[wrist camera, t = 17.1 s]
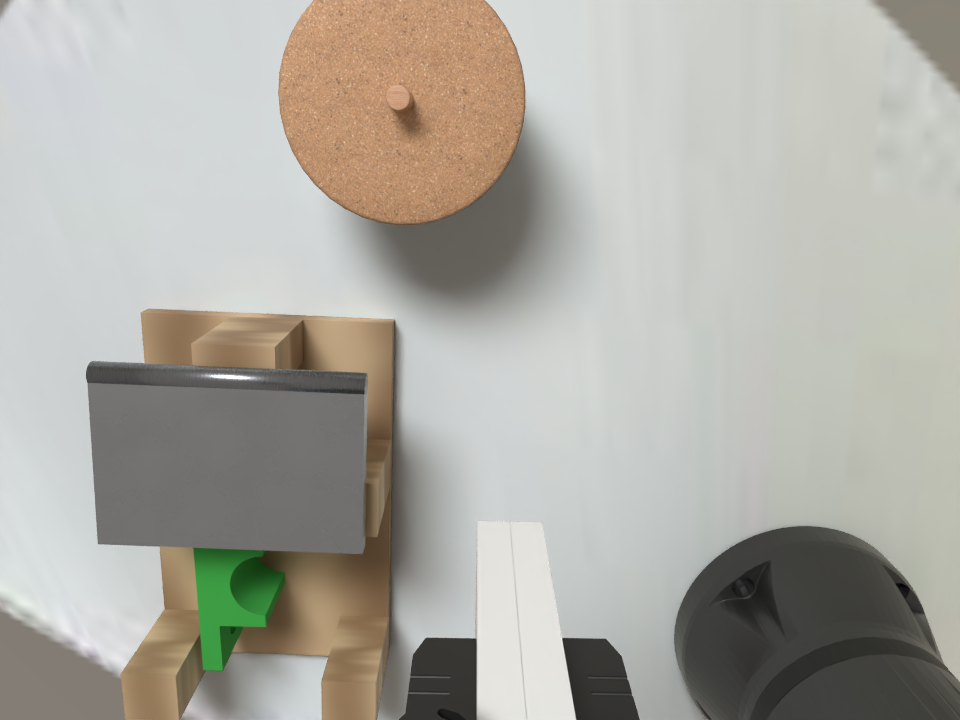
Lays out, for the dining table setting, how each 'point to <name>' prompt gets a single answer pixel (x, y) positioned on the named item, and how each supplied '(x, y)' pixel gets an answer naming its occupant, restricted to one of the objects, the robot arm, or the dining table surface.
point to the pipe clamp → (232, 598)
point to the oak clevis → (308, 575)
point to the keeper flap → (229, 457)
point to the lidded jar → (402, 104)
